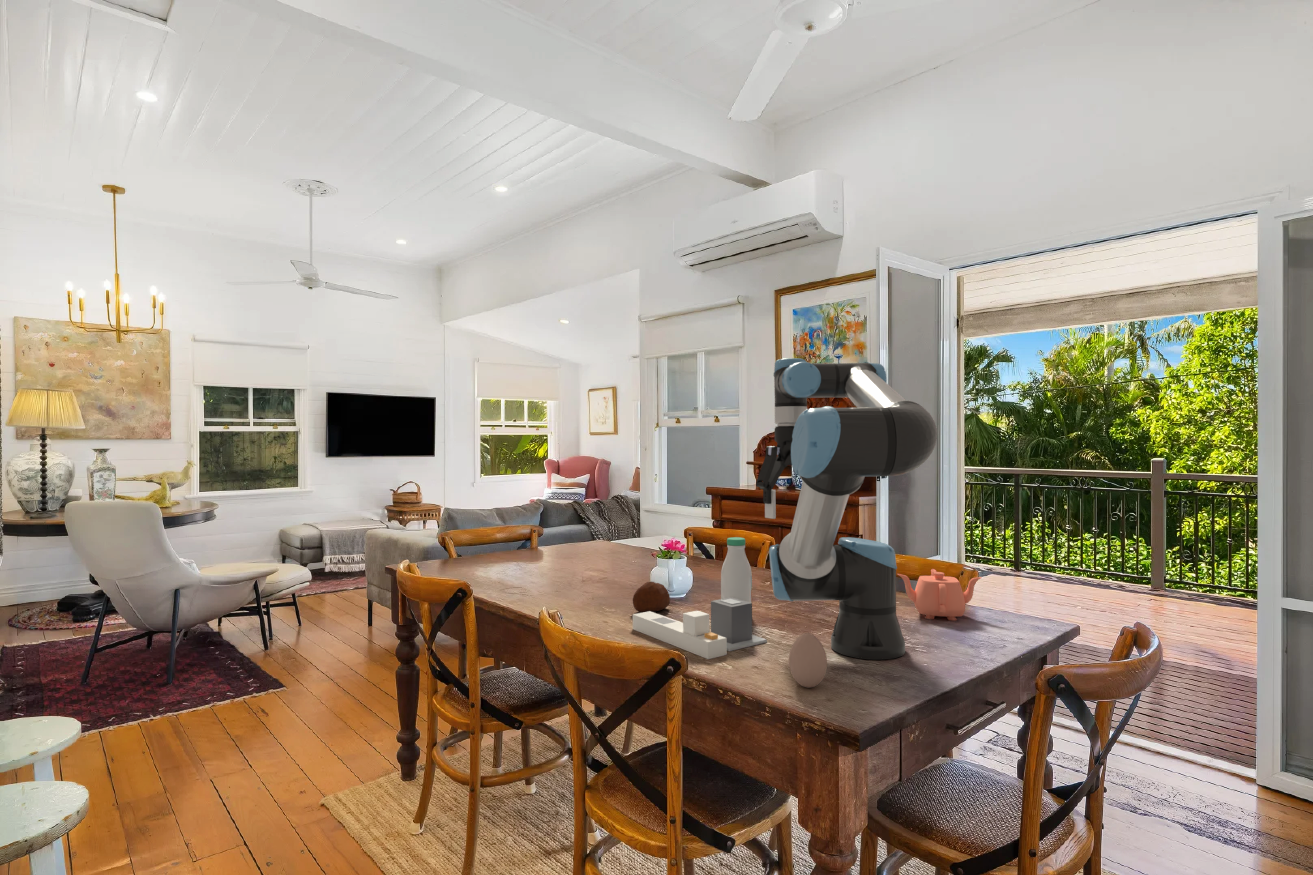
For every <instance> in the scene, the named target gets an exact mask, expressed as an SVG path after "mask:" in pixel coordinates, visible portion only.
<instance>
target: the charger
mask: <svg viewBox="0 0 1313 875" xmlns="http://www.w3.org/2000/svg"><path fill="white" fill-rule="evenodd" d="M710 632H712V633H715V634H718V635H720V636H722V637H725V638H727V643H730V644H734V643H739V642H743V641H747V640H751V639H752V635H753V602H752V603H750V602H746V601H742V600H739V599H735V598H732V597H730V598H725V599H721V598H719V599H714V600H710Z"/></svg>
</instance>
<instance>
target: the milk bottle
mask: <svg viewBox="0 0 1313 875" xmlns="http://www.w3.org/2000/svg"><path fill="white" fill-rule="evenodd" d="M726 544H727V546H726V547H727V551H726V552H727V553H726V556H725V559H724V560H723V564H722V567H721V571H720V599H725V598H730V597H732V598H735V599H739V600H742V601H746V602H750V603H752V604H753V578H752V577H753V576H752V568H751V565H750V563H749V560H748V558H747V555H746V550H745V548H746V539H745V538H744V537H739V536H735V537H727V539H726Z"/></svg>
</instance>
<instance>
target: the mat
mask: <svg viewBox="0 0 1313 875" xmlns="http://www.w3.org/2000/svg"><path fill="white" fill-rule="evenodd" d="M766 643H768V640H767V639H766V638H763V637H760V636H757V635H754V634H752V639H751V640H747V641H743V642H739V643H734V644H730V643H727V651H728V652H731V651H735V650H740V649H744V648H748V647H753V646H757V645H760V644H766Z"/></svg>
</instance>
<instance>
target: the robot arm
mask: <svg viewBox="0 0 1313 875" xmlns="http://www.w3.org/2000/svg"><path fill="white" fill-rule="evenodd" d="M773 371H774V372H773V378H774V380H773V382H774V386H773V387H774V423H775V425H777V426H775V427H774V441H775V442H776V443H777V444H776V445H773V446H772V445H769V446H766V449H765V456H764V460H763V463H762V465H761V468H760V471H759V473H758V476H757V478H756V482H755V486H756V488H758V487H759V489H760V490H762V492H763V494H762V496H763V498H762V501H763V504H764V518H765V519H774V520H775V519H777V518H776V517H777V515H776V514H777V511H776V510H777V509H776V506H777V504H776V494H777V493H776V491H777V490H776V489H773V488H774V486H775V485H776V484H777V481H778V480H779V478H781V477H780V476H781V475H782V473H783V471H784V469H785V468H787V467H788V466H791V468H792V469H793V471H794V473H795V475H797V476H799V478H800V479H801V481H802V483H801V487H800V488H801V489H800V492H799V496H798V500H797V505H796V508H795V513H794V516H793V521H792V524H791V525H792V526H791V530H790V532H789V533H788V534H786V535H785V536H784V537H783V539H782V540H781V542H780V544H779V543H777V544H773V545H770V546H769V551H768V552H769V553H768V554H769V567H770V576H771V584H772V585H771V586H772V590H773V591H772V592H773V596H774V597H775V598H776V599H777V600H779V601H789V602H801V601H802V602H804V601H806V602H807V601H810V602H812V601H813V602H814V601H815V602H816V601H839V604H838V605H839V607H838V610H839V611H838V615H837V616H836V621H835V623H834V627H833V630H832V633H831V634H830V635H831V636H830V647H831V649H832V650H833V651H834V652H835V653H838V654H840V655H844V656H847V657H851V658H856V659H863V660H876V661H877V660H878V661H879V660H883V661H884V660H891V659H897V658H900V657H902V656H904V655H905V654H906V641H905V638H904V636H903V632H902V629H901V626H900V623H899V619H898V617H897V569H898V566H897V560H896V552H895V549H894V548H893V547H892V546H891V545H889V544H888V543H885V542H881V541H876V540H871V539H866V538H860V537H850V536H848V537H846V536H845V537H844V536H843V537H839V539H838V540H837V541H838V542H837V544H834V543H835V541H836V537H837V534H838V531H839V527H840V526H841V521H842V518H843V516H844V512H845V509H846V507H847V503H848V501H849V497H850V495H852V494H854V493H855V492H857V491H858V490H859V489H860V488H861V486H862V484H863V483H864V480H865V477H896V476H901V475H902V476H903V475H905V474H908V473H911V472H913V471H914V470H917V468H920V467H921V466H922V465H923V464H924V463H926V461H927V460H928V459H929V457H930V456H931V454H932V453H933V451H934V449H935V447H936V444H937V439H938V428H937V425H936V422H935V419H934V417H933V416H932V415H931V413H930V412H929V411H928V410H927V409H926V408H925V407H924V406H922V405H920V404H919V403H917V402H915V401H913V400H906V399H905V398H904V397H903V396H902V395H901V394H900V393H899V392H897V391H896V390H895V389H894V388H893V387H891V385H890V384H888V383H887V373H886V369H885V367H884V365H883V364H881V363H879V362H878V363H877V362H876V363H875V362H867V361H866V362H851V363H850V362H845V363H844V362H843V363H842V362H841V363H840V362H838V363H836V362H835V363H834V362H833V363H832V362H831V363H830V362H828V363H823V362H821V363H817V362H814V363H813V362H812V363H811V362H807V361H806V360H805V359H803V358H801V357H800V358H797V357H796V358H795V357H792V358H790V357H789V358H779V359H777V360H775V362H774V370H773ZM809 398H810V399H811V398H814V399H815V398H817V399H818V398H848V399H849V400H850V401H851V402H852V404H854V406H856V407H833V406H829V405H827V406H822V407H814V408H813V407H812V408H811V407H810V408H808V399H809Z"/></svg>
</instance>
